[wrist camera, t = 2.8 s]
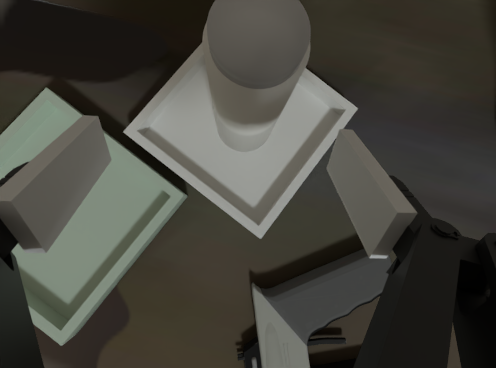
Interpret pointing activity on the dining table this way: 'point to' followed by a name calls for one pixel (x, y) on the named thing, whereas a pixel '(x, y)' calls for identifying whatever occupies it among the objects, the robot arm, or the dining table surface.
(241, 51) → the sugar shaker
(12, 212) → the robot arm
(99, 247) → the green tray
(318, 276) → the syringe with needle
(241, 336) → the dining table surface
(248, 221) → the grey tray
